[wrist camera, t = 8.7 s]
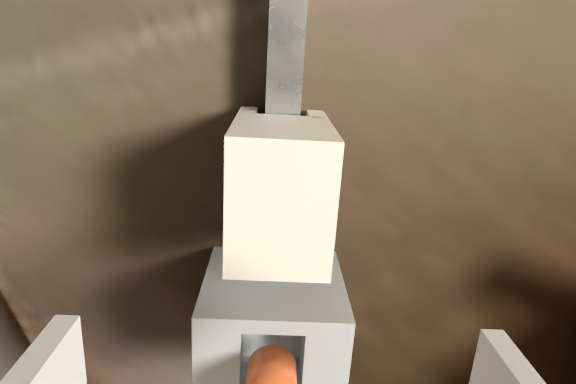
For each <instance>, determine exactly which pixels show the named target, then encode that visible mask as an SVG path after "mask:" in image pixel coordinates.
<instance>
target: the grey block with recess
mask: <svg viewBox="0 0 576 384" xmlns="http://www.w3.org/2000/svg"><path fill="white" fill-rule="evenodd" d="M355 325H356V324H355V320H354V316H353V313H352V309H351V306H350V302H349V298H348V295H347V291H346V288H345V284H344V280H343V277H342V273H341V270H340V266H339V262H338V259H337V255H336V252H335V251H334V256H333V266H332V276H331V284H329V283H303V282H277V281H251V280H224V279H223V247H214V248H213V251H212V254H211V257H210V260H209V264H208V267H207V270H206V273H205V277H204V280H203V283H202V286H201V289H200V293H199V296H198V299H197V302H196V305H195V309H194V312H193V315H192V384H246V379H247V368H248V360H249V358H250V356H251V354H252V353H253V352H254V351H255V350H257V349H258V348H260V347H263V346H266V345H278V346H281V347H284V348H286V349H287V350H289V351H290V352H291V353H292V354H293V356H294V358H295V361H296V374H297V384H348V382H349V374H350V366H351V358H352V349H353V341H354V333H355Z"/></svg>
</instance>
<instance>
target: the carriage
mask: <svg viewBox="0 0 576 384" xmlns="http://www.w3.org/2000/svg"><path fill="white" fill-rule="evenodd" d="M344 144H345V142H344V141H343V139H342V138H341V136H340V135H339V133H338V132H337V130H336V129H335V127H334V126H333V125H332V123H331V122H330V120H329V119H328V117H327V116H326V114H325V113H324V111H320V110H307V115H306V116H296V115H277V114H259V113H258V107H245V106H241V108H240V109H239V111H238V113H237V115H236V116H235V118H234V120H233V122H232V124H231V125H230V127H229V129H228V131H227V132H226V134H225V136H224V202H223V279H224V280H251V281H277V282H303V283H329V284H331V276H332V266H333V256H334V246H335V235H336V225H337V215H338V205H339V195H340V185H341V174H342V164H343V154H344Z"/></svg>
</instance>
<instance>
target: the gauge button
mask: <svg viewBox="0 0 576 384" xmlns="http://www.w3.org/2000/svg"><path fill="white" fill-rule="evenodd" d="M246 384H297V374H296V361H295V358H294V356H293V354H292V353H291V352H290V351H289V350H287V349H286V348H284V347H281V346H278V345H266V346H263V347H260V348H258V349H257V350H255V351H254V352H253V353H252V354H251V356H250V358H249V360H248V368H247V379H246Z"/></svg>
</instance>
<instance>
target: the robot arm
mask: <svg viewBox="0 0 576 384" xmlns="http://www.w3.org/2000/svg"><path fill="white" fill-rule="evenodd" d="M0 384H87V379H86V370H85V360H84V351H83V341H82V331H81V322H80V316H78V315H55V316H54V317H53V318H52V320H51V321H50V322H49V323H48V325H47V326H46V327H45V328H44V329H43V331H42V332H41V333H40V334H39V335H38V337H37V338H36V339H35V340H34V342H33V343H32V344H31V345H30V346H29V348H28V349H27V350H26V351H25V352H24V354H23V355H22V356H21V357H20V358H19V360H18V361H17V362H16V363H15V365H14V366H13V367H12V368H11V369H10V371H9V372H8V373H7V374H6V375H5V377H4V378H3V379H2V380H1V382H0ZM469 384H546V383H545V381H544V380H543V379H542V378H541V376H540V375H539V374H538V373H537V371H536V370H535V369H534V368H533V366H532V365H531V364H530V363H529V361H528V360H527V359H526V358H525V356H524V355H523V354H522V353H521V351H520V350H519V349H518V348H517V346H516V345H515V344H514V342H513V341H512V340H511V339H510V337H509V336H508V335H507V334H506V332H505V331H504V330H493V329H481V331H480V335H479V340H478V344H477V349H476V353H475V358H474V363H473V367H472V372H471V376H470V381H469Z"/></svg>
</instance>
